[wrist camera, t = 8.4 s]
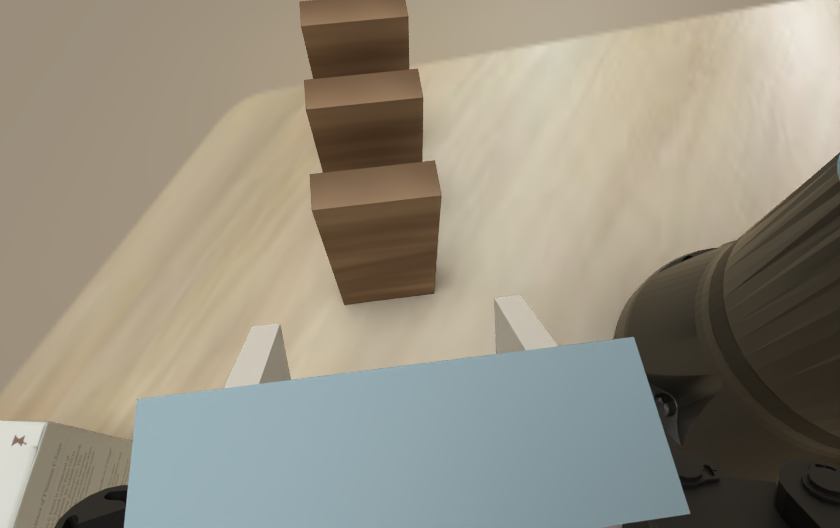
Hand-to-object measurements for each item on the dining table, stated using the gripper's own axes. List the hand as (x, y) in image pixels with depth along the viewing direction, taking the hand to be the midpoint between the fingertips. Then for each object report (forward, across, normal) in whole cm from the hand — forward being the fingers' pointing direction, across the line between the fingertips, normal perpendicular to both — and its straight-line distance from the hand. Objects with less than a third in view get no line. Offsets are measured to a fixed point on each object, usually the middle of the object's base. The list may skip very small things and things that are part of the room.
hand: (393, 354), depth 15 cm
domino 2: (+24, 0, -1) cm, 24 cm away
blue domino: (0, 0, -5) cm, 5 cm away
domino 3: (+20, 0, -6) cm, 21 cm away
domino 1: (+28, 0, +3) cm, 28 cm away
